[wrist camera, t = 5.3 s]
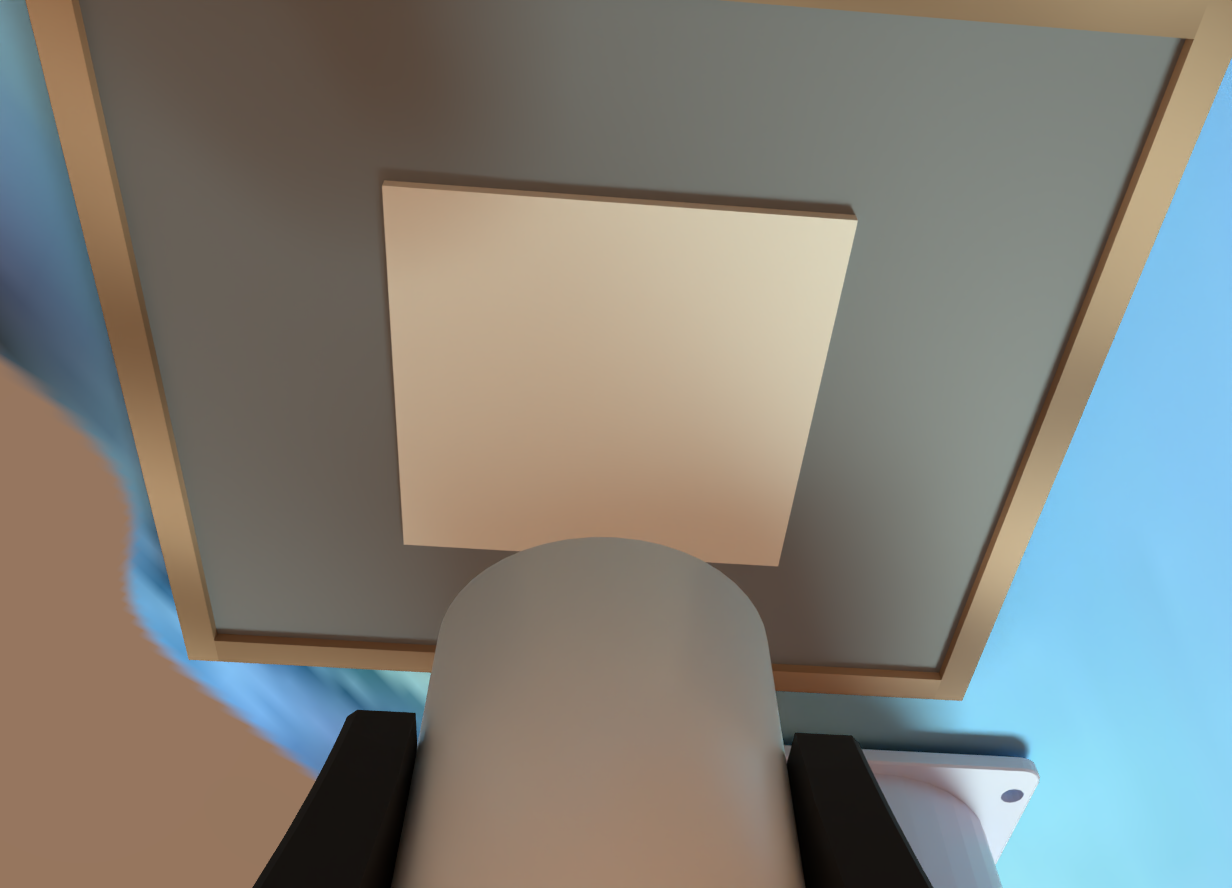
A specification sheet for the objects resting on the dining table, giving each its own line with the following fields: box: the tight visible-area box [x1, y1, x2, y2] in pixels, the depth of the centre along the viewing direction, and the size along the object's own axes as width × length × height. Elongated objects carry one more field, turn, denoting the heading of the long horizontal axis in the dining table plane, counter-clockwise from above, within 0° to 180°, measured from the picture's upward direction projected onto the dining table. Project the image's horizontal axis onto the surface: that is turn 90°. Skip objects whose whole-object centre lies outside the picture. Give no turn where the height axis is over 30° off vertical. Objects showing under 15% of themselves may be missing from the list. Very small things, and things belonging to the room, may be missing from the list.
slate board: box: [25, 0, 1232, 701], centre depth 18 cm, size 14×16×1 cm
